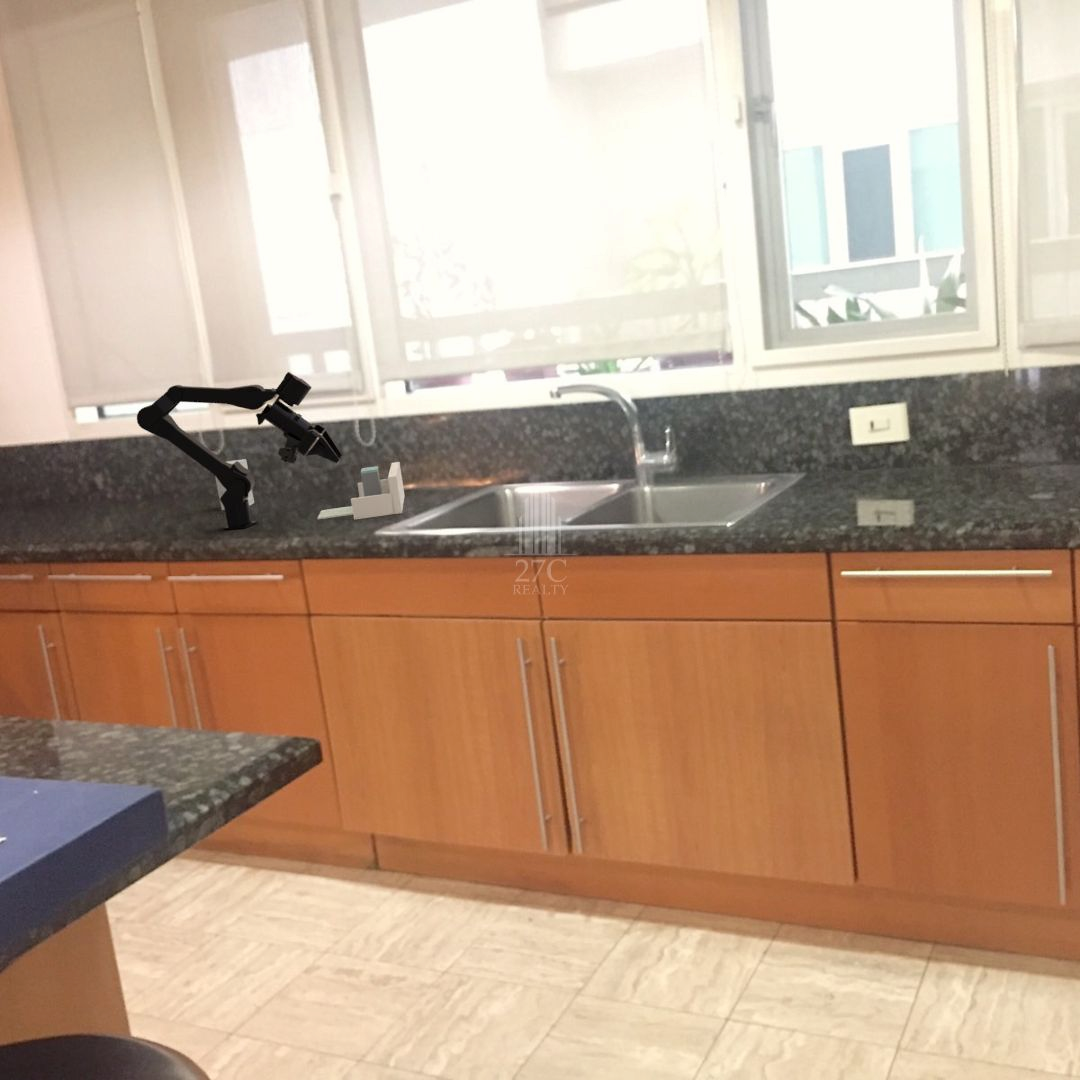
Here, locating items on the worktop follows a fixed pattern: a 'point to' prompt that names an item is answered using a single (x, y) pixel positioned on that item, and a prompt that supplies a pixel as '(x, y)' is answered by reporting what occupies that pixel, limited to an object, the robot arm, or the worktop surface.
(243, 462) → the supplement box
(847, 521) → the worktop surface
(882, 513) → the worktop surface
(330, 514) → the mat
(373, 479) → the grey teal block
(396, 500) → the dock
